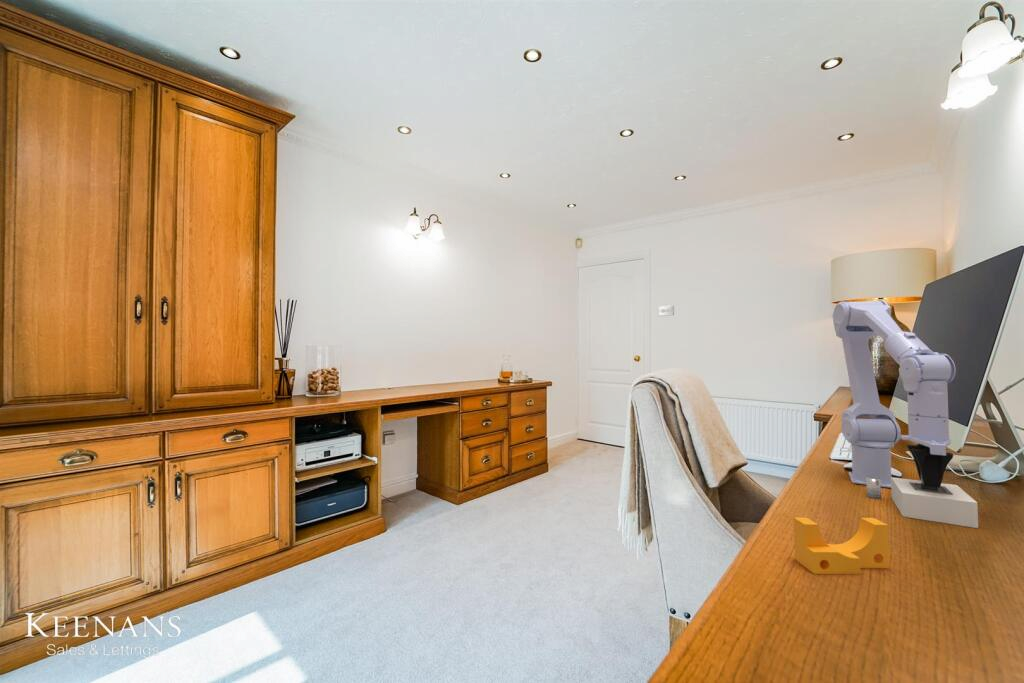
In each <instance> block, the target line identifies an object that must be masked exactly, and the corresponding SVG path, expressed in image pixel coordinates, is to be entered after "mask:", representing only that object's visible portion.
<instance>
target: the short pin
mask: <svg viewBox="0 0 1024 683" xmlns="http://www.w3.org/2000/svg"><path fill="white" fill-rule="evenodd" d="M866 483H867V485H866V497H867V498H870V499H874V500H881V499H882V487H881V479H879V478H875V477H866Z"/></svg>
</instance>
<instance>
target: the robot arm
mask: <svg viewBox="0 0 1024 683" xmlns="http://www.w3.org/2000/svg"><path fill="white" fill-rule="evenodd" d="M833 309H834V310H833V312H832V320H833V326H834V327H833V328H834V332H835V335H836V337H838V338H840V340H841V342H842V347H843V353H844V358H845V364H846V369H847V375H848V382H849V387H850V392H851V398H852V405H850V406H849V407H847V408H846V409H844V411H842V413H841V419H842V420H841V432H842V436H843V438H844V439H845V440H846V441H847V443H849V444H851V468H852V469H851V471H849V472H848V476H849V478H850V480H851V483H853V484H857V485H858V484H859V485H863V486H865V485H866V486H867V483H866V477H875V478H879V479H881V488H888V489H891V477H892V454H891V448H895V444H897V443H899V441H900V440H903V441H909V442H913V443H915V444H907V445H906V447H907V449H908V451H909V452H910V455H911V456H912V458H913V460H914V461H913V462H914V463H915V467H916V470H917V475H918V478H919V481H921V476H922V480H923V483H924V485H925V486H927V487H935V488H940V486H941V483H943V478H944V474H945V470H946V469H947V466H948V465H949V463H950V461H952V460H953V458H954V454H953V453H951V452H947V451H948V449H947V447H948V446H951V443H952V441H951V439H950V428H949V426H950V424H949V397H948V396H949V394H948V384H949V383H951V382H952V381H953V380H954V379H955V377H956V371H957V370H956V365H955V362H954V360H953V359H952V358H951V356H950V355H949V354H946V353H939V352H937V351H936V352H934V351H933V350H931V349H930V347H928V346H927V345H926V343H924V342H923V341H922V340H921V339H920V337H918V336H917V334H915V332H910V331H903V330H902V329H901V328H900V326H899V325H898V324H897V322H896V321H895V320H894V319H893V317H892V307H891V305H890V304H888V303H887V301H885V300H882V299H880V300H879V299H878V300H867V301H864V300H863V301H843V300H842V301H839V302H838V303H836V305H835V306H834V308H833ZM876 336H878V337H880V338H881V339H882V340H884V343H883V348H884V350H885V351H886V352H887V353H888V354H889V356H891V358H892V359H893V360H894V361H895V362H896V363H897V364H898V365H899V367H898V373H899V377H900V378H901V380H902V383H903V386H902V387H903V389H904V391H905V392H906V393H907V394H906V395H907V396H906V397H907V422H908V423H907V424H908V426H907V427H908V434H907V435H906V434H902V432H901V431H902V430H901V427H900V425H899V423H898V421H897V419H896V417H895V413H894V411H893V410H891V409H889V408H888V407H886V406H885V405H883V404H881V401H880V396H879V392H878V387H877V381H876V377H875V371H874V366H873V361H872V356H871V355H872V354H871V351H870V347H869V346H870V345H869V341H870V339H871V338H874V337H876Z"/></svg>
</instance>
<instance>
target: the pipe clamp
mask: <svg viewBox="0 0 1024 683" xmlns="http://www.w3.org/2000/svg"><path fill="white" fill-rule="evenodd" d="M859 522H860V523H859V528H858V529H857V531H856V533H855V534H854V535H853V536H852V537H851V538H850V539H849V540H847V541H844V542H842V543H837V544H836V543H835V544H834V543H833V544H832V543H826V541H825V539H823V537H822V535H821V532H820V529H819V528H820V527H819V524H818V523H816V522H815V521H814V520H811V519H810V518H808V517H793V533H794V534H793V535H794V536H793V537H794V541H793V542H794V559H796V560H795V561H797V562H798V563H800V564H801V565H802V566H803V567H804V568H805V569H807V570H808V571H810V572H811V573H812V574H813V575H861V569H890V546H889V545H890V544H889V543H890V542H889V524H888V523H885V522H883V521H881V520H879V519H877V518H874V517H860V521H859Z"/></svg>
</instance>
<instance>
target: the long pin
mask: <svg viewBox="0 0 1024 683" xmlns="http://www.w3.org/2000/svg"><path fill="white" fill-rule="evenodd" d="M920 481H921V489H924V490H932V491H938V488H935V487H927V486H925V485H924V483H923V480H922V476H921V480H920Z"/></svg>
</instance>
